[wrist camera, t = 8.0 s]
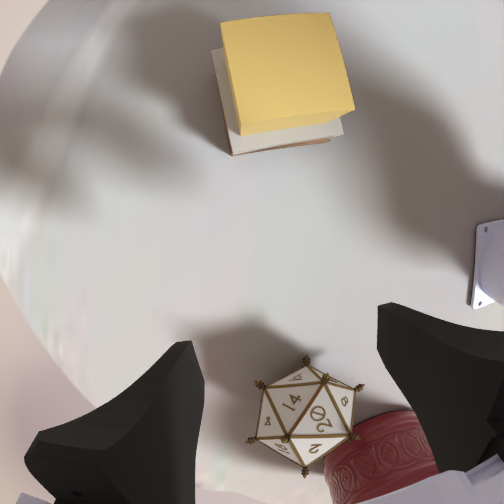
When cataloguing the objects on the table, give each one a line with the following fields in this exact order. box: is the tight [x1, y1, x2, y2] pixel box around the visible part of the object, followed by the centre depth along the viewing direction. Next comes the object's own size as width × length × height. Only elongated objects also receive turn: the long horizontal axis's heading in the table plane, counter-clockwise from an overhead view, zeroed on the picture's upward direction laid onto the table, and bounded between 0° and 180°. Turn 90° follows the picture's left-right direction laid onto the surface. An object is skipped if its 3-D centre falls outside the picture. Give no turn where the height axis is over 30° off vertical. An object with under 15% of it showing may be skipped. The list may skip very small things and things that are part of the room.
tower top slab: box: [211, 47, 344, 155], centre depth 16 cm, size 6×6×2 cm
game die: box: [245, 355, 365, 478], centre depth 20 cm, size 9×8×10 cm
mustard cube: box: [220, 13, 355, 136], centre depth 12 cm, size 4×4×4 cm
